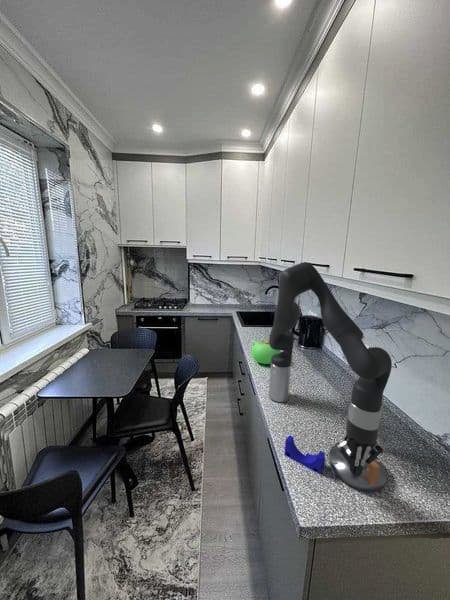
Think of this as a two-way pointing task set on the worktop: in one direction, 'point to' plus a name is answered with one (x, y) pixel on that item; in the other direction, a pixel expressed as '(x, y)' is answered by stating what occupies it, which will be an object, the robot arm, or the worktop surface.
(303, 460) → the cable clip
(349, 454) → the cover
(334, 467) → the grey pot lid
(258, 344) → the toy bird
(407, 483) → the worktop surface
